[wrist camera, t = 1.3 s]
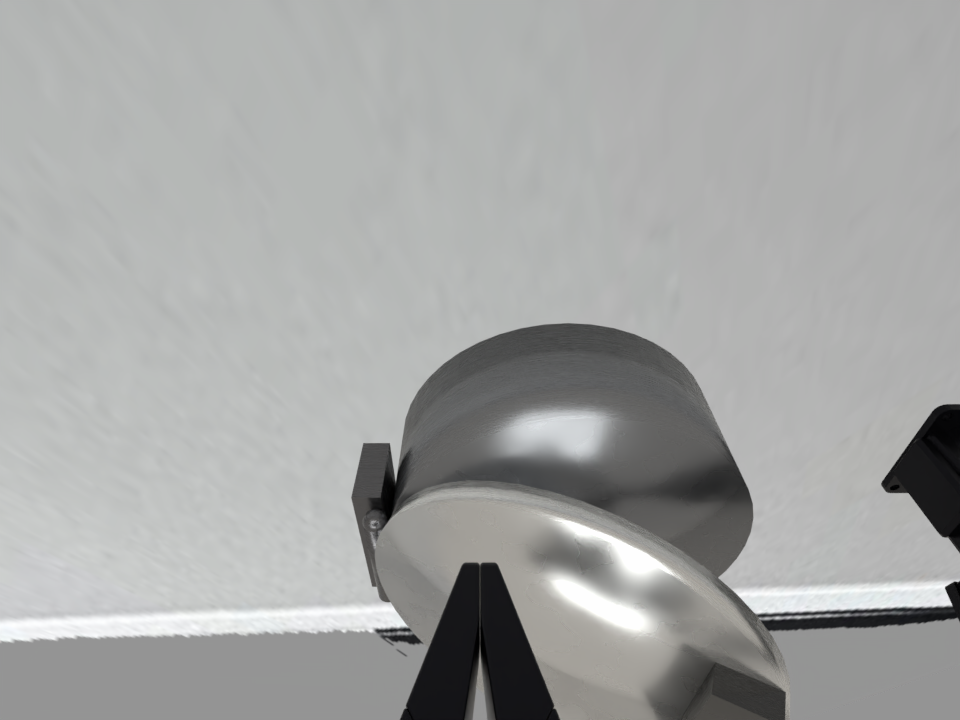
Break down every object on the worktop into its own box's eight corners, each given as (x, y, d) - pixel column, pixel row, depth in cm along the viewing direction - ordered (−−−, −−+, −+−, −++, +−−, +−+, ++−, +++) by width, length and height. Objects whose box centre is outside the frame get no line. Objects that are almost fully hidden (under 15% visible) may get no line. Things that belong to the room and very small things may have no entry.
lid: (882, 609, 14) (891, 685, 13) (716, 789, 24) (710, 843, 23) (353, 418, 20) (318, 457, 18) (396, 630, 30) (375, 665, 28)
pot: (748, 323, 24) (812, 418, 20) (670, 533, 34) (700, 629, 30) (360, 323, 24) (332, 419, 20) (395, 533, 34) (382, 630, 30)
